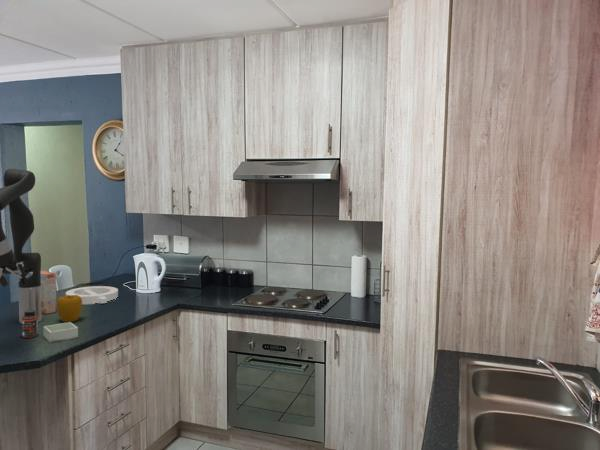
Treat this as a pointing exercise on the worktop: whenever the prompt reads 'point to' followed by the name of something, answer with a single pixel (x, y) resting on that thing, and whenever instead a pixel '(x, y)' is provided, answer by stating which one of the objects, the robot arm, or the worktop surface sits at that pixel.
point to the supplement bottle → (29, 324)
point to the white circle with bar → (95, 294)
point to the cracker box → (48, 292)
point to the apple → (69, 307)
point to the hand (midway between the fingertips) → (15, 285)
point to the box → (60, 332)
